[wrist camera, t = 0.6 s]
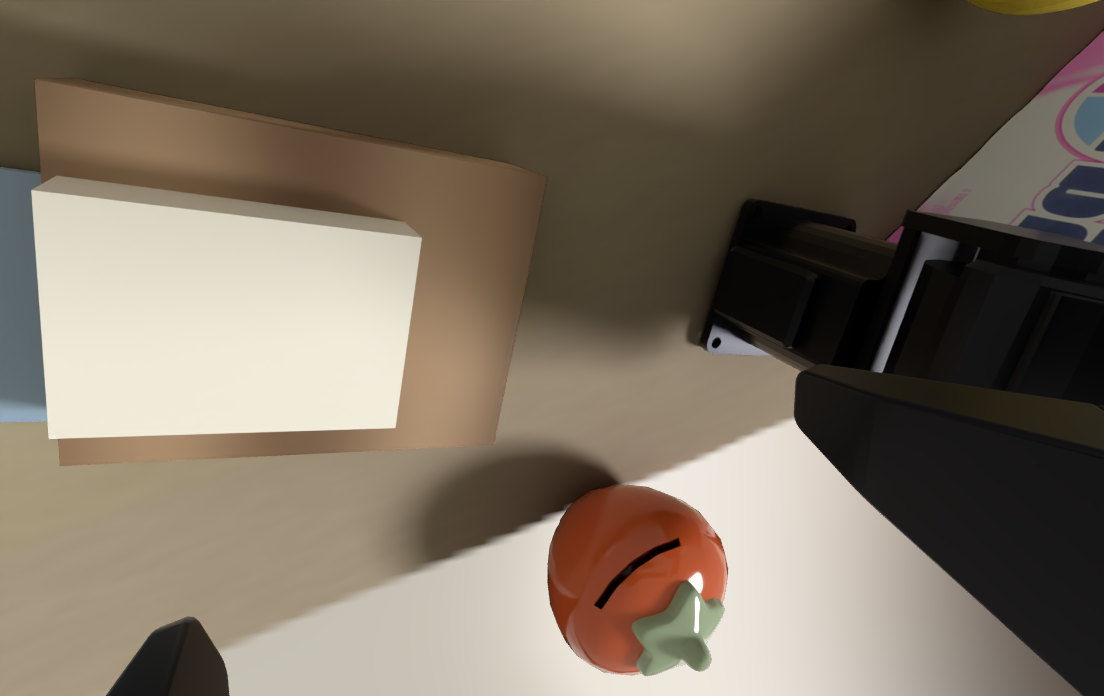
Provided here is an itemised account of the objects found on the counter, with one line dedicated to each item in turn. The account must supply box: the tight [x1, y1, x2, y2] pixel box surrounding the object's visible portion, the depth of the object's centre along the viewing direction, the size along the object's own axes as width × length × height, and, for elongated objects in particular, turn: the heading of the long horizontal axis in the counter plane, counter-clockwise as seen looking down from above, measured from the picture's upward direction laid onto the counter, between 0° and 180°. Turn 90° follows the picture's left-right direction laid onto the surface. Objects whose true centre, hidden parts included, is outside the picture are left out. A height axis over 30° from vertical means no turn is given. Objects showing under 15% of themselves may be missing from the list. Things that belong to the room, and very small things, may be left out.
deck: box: [35, 78, 547, 466], centre depth 17 cm, size 11×8×3 cm
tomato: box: [548, 485, 728, 676], centre depth 24 cm, size 7×7×8 cm
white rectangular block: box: [31, 176, 422, 439], centre depth 14 cm, size 7×5×2 cm
